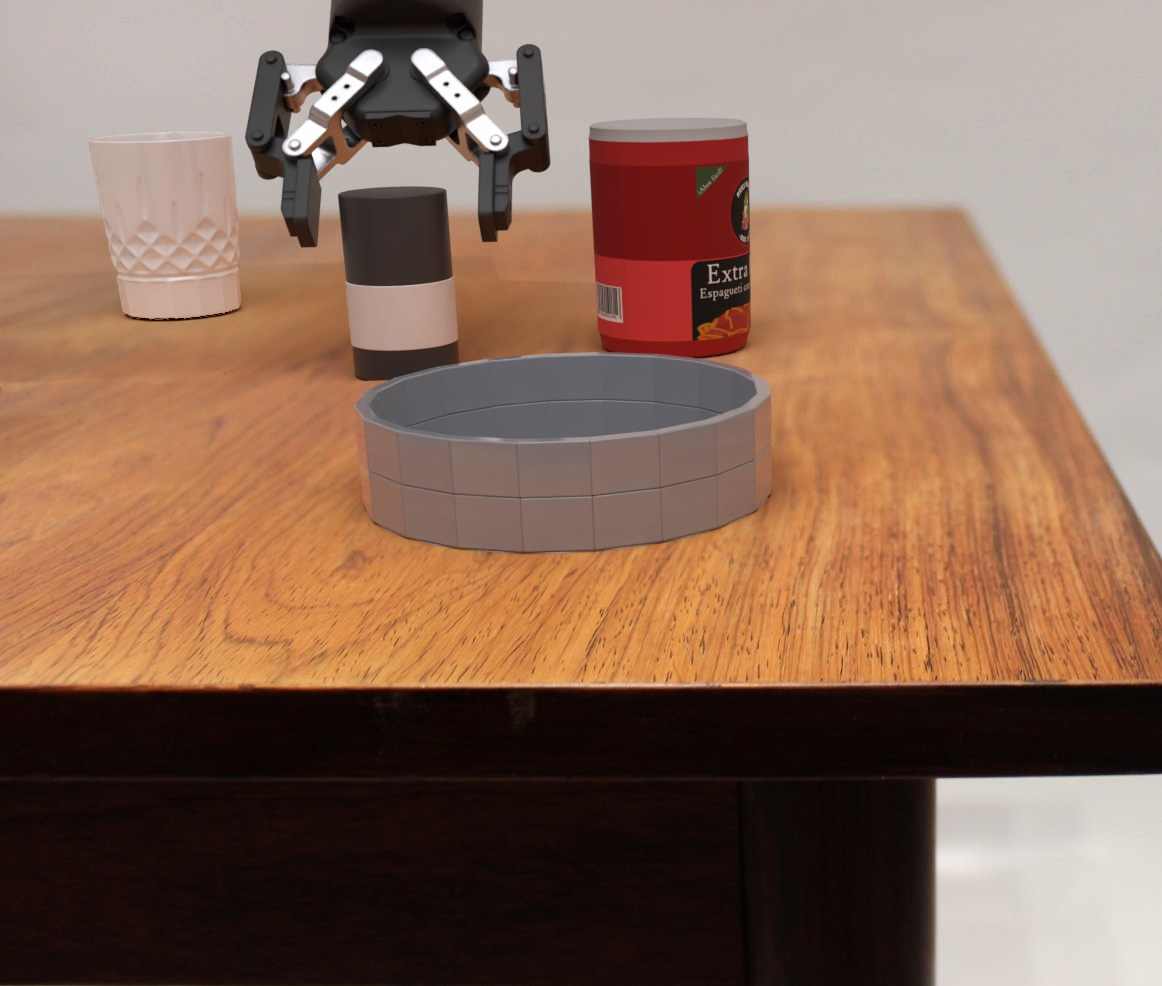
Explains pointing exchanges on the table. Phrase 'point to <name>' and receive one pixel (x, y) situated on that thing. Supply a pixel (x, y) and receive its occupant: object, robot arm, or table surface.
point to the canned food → (671, 235)
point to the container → (398, 280)
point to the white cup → (170, 220)
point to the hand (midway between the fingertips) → (395, 234)
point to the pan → (564, 451)
